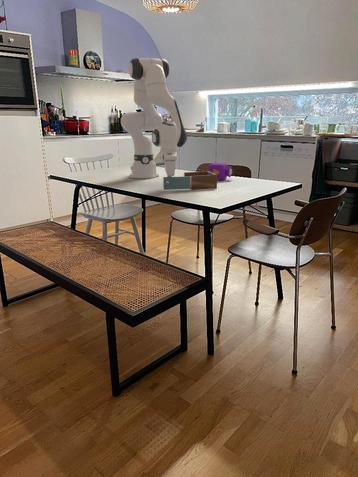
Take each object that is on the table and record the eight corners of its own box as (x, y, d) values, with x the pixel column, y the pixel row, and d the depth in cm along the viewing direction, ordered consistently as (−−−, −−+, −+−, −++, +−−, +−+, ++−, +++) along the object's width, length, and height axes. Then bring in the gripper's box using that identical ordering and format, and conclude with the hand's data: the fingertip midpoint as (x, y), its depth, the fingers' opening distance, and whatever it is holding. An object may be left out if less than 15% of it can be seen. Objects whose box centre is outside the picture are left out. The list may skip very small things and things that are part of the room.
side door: (163, 190, 191) (163, 177, 189) (163, 189, 193) (163, 176, 191) (191, 189, 193) (191, 176, 191) (191, 188, 195) (191, 176, 193)
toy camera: (231, 181, 218) (232, 163, 215) (208, 180, 221) (208, 163, 218) (232, 178, 228) (233, 161, 225) (210, 177, 231) (210, 161, 228)
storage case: (184, 185, 208) (184, 172, 206) (208, 183, 211) (208, 171, 209) (191, 189, 195) (191, 176, 193) (216, 187, 199) (217, 174, 196)
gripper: (161, 152, 199) (162, 178, 204) (164, 157, 180) (164, 185, 184) (173, 152, 200) (173, 178, 204) (177, 157, 180) (177, 185, 185)
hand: (169, 182), depth 194 cm, fingers closed
